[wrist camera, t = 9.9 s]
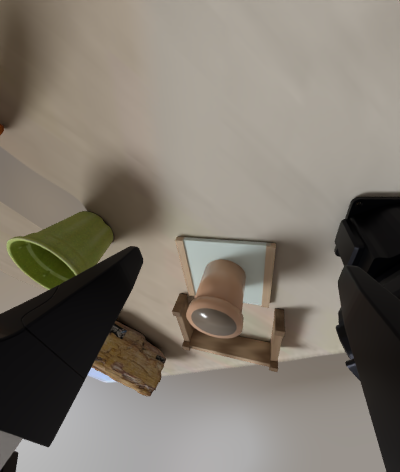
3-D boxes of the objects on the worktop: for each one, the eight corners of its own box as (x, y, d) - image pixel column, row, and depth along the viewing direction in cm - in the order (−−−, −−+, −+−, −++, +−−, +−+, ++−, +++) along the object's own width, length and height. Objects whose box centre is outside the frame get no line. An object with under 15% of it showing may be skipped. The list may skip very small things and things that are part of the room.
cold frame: (283, 309, 29) (285, 336, 26) (276, 346, 35) (277, 372, 32) (179, 293, 34) (170, 314, 31) (190, 328, 40) (183, 349, 37)
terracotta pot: (248, 260, 24) (242, 310, 19) (248, 293, 28) (242, 343, 23) (200, 255, 26) (181, 300, 21) (205, 286, 30) (190, 332, 24)
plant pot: (121, 211, 26) (71, 255, 20) (126, 260, 32) (89, 306, 26) (59, 191, 27) (-10, 227, 21) (75, 242, 33) (26, 282, 27)
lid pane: (275, 243, 23) (275, 247, 22) (268, 303, 29) (268, 307, 28) (177, 236, 26) (175, 240, 25) (190, 291, 32) (189, 295, 32)
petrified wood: (175, 351, 48) (154, 402, 42) (156, 348, 58) (137, 389, 52) (104, 310, 44) (68, 360, 38) (96, 315, 54) (68, 355, 48)
